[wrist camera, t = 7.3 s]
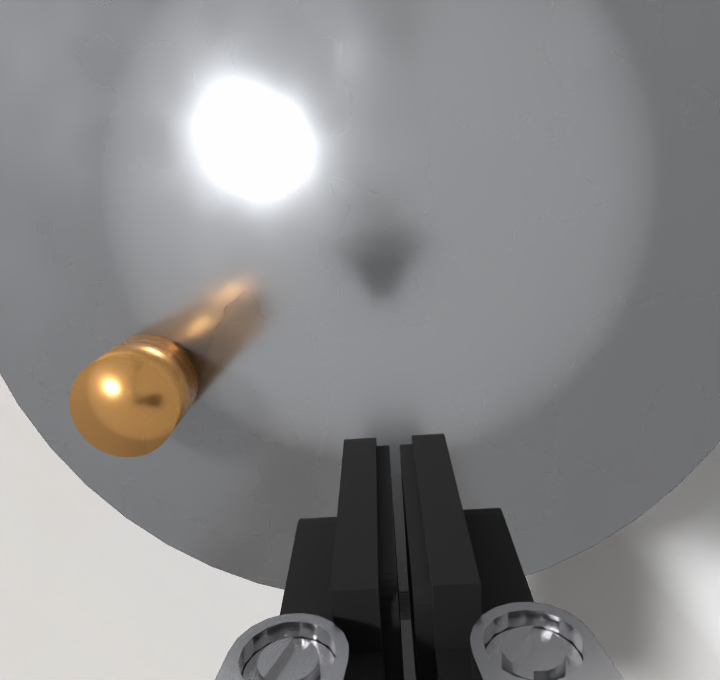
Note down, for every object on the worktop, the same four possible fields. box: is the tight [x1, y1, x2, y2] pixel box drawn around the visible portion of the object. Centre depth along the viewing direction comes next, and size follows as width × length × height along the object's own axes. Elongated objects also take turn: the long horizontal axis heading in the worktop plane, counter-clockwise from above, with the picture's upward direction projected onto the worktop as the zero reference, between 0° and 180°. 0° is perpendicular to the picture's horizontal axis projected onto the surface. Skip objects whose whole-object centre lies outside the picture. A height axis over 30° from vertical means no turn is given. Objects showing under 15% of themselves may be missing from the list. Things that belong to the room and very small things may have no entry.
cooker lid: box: [0, 0, 720, 680], centre depth 16 cm, size 27×21×3 cm
